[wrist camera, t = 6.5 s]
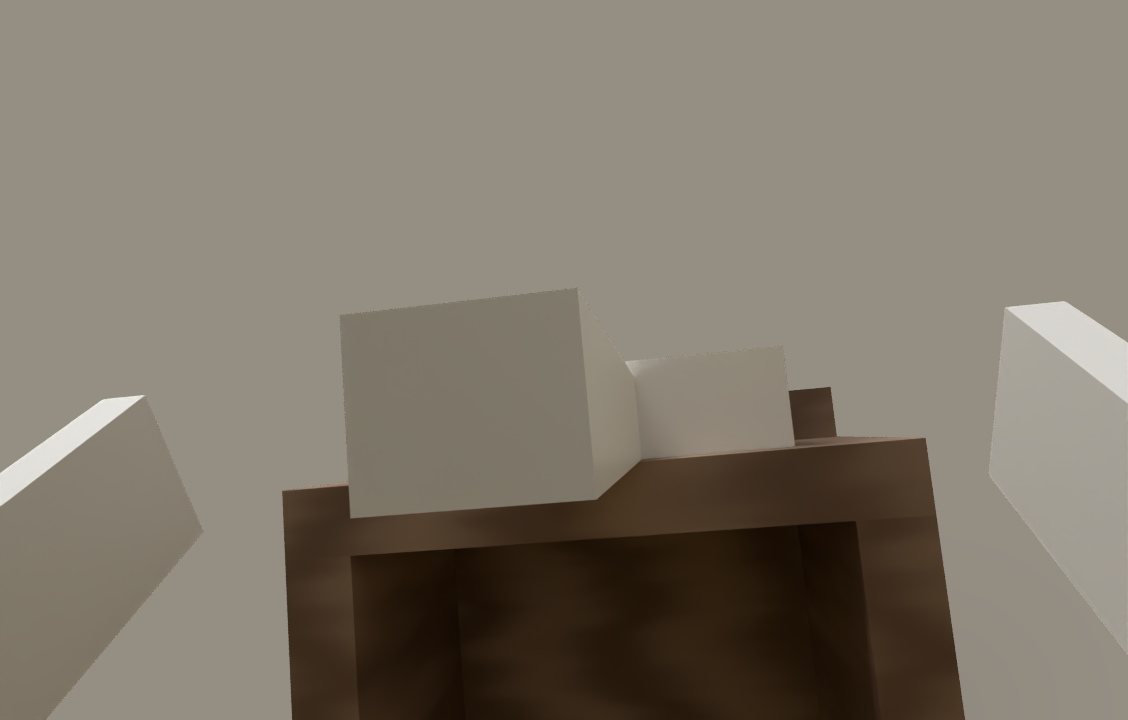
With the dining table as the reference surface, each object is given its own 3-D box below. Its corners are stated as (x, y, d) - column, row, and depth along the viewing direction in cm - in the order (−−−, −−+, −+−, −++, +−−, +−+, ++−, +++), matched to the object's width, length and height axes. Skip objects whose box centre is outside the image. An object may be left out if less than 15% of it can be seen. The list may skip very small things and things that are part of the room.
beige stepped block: (19, 543, 10) (18, 315, 10) (471, 467, 31) (466, 396, 32) (1010, 467, 8) (970, 198, 8) (762, 443, 30) (753, 368, 30)
